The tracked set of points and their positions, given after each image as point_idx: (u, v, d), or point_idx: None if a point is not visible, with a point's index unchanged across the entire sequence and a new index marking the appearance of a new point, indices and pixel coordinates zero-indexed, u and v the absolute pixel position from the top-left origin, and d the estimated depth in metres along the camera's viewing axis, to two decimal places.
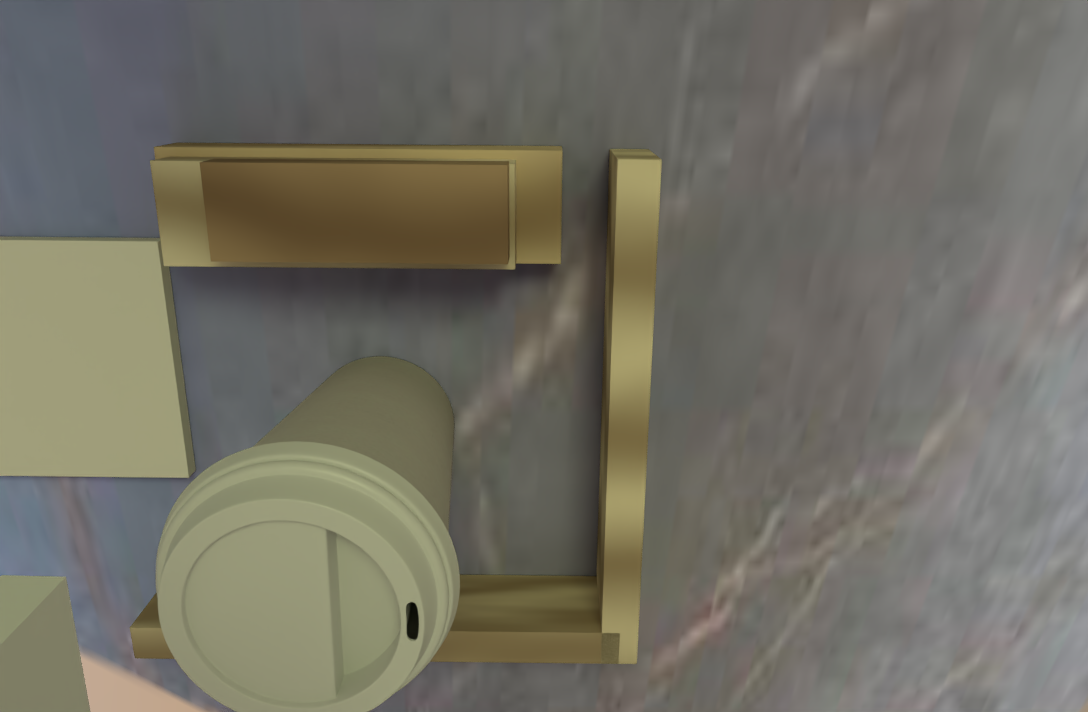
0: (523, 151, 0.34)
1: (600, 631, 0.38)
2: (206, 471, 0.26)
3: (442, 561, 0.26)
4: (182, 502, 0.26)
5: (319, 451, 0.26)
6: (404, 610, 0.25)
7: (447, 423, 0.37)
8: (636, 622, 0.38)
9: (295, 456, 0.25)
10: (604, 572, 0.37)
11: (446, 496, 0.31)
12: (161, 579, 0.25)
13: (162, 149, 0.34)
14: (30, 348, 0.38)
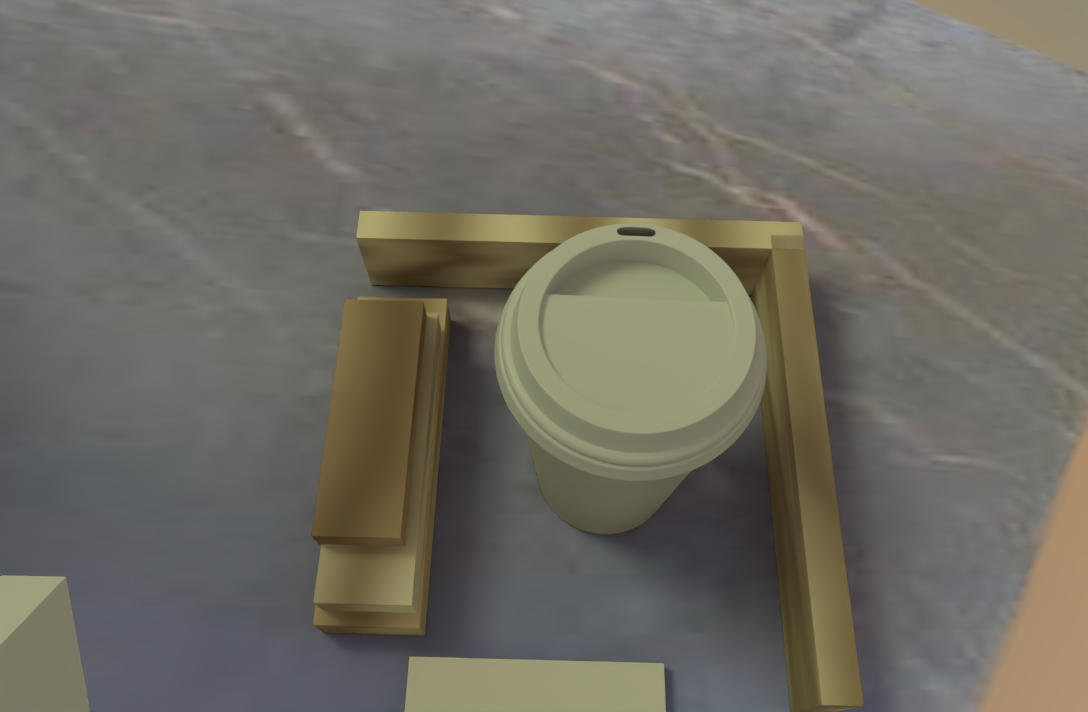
0: None
1: (771, 250, 0.42)
2: (518, 419, 0.29)
3: None
4: (542, 432, 0.28)
5: (499, 323, 0.30)
6: (624, 235, 0.30)
7: None
8: (758, 222, 0.43)
9: (499, 336, 0.30)
10: (710, 246, 0.42)
11: None
12: (598, 425, 0.27)
13: (315, 617, 0.37)
14: None
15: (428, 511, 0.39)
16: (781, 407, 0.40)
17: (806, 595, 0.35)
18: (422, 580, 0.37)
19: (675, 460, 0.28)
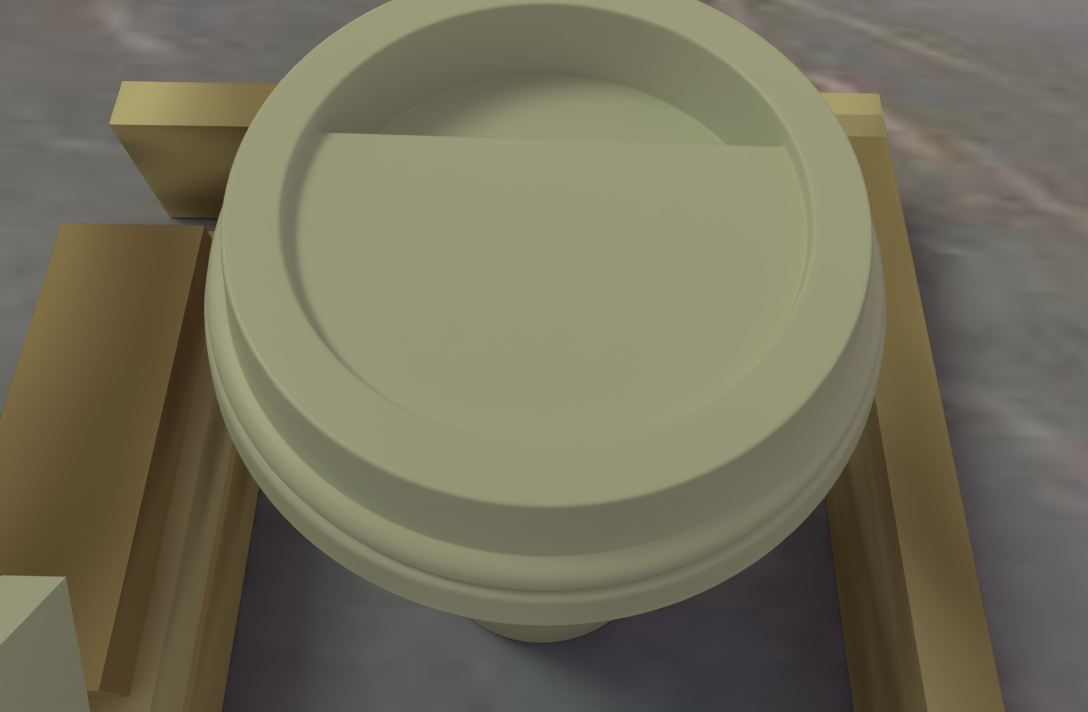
0: None
1: None
2: (244, 459, 0.11)
3: None
4: (289, 496, 0.10)
5: None
6: None
7: None
8: None
9: None
10: None
11: None
12: (420, 482, 0.09)
13: None
14: None
15: (206, 613, 0.21)
16: None
17: None
18: None
19: (654, 574, 0.10)
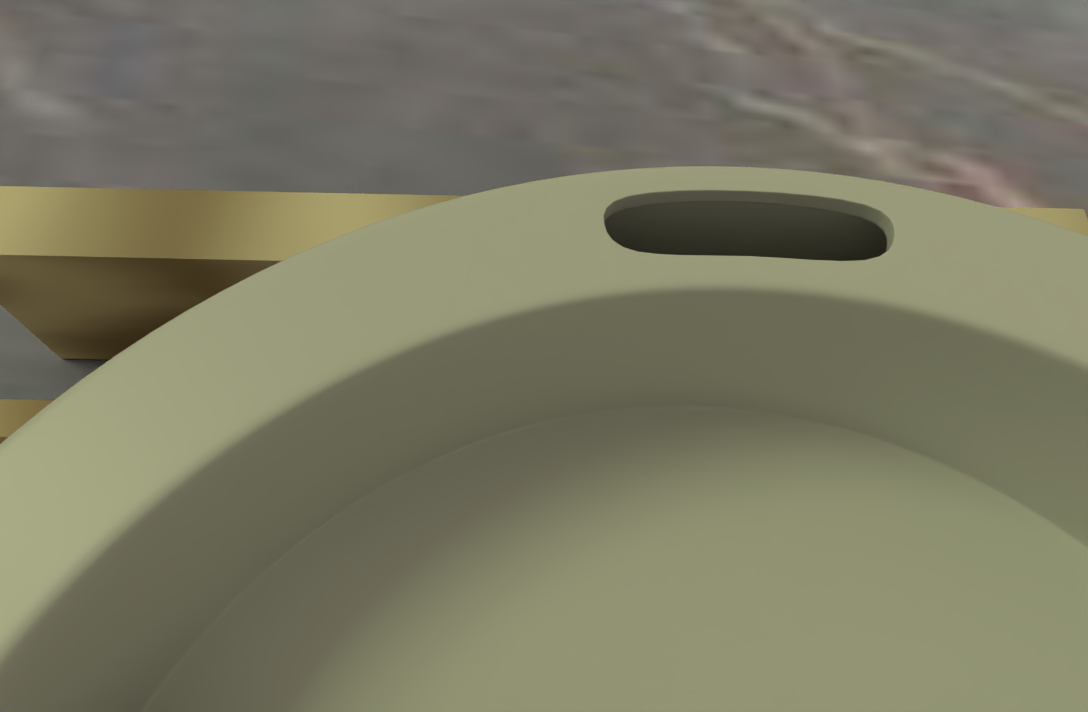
0: None
1: None
2: None
3: None
4: None
5: None
6: (663, 256, 0.04)
7: None
8: None
9: None
10: None
11: None
12: None
13: None
14: None
15: None
16: None
17: None
18: None
19: None
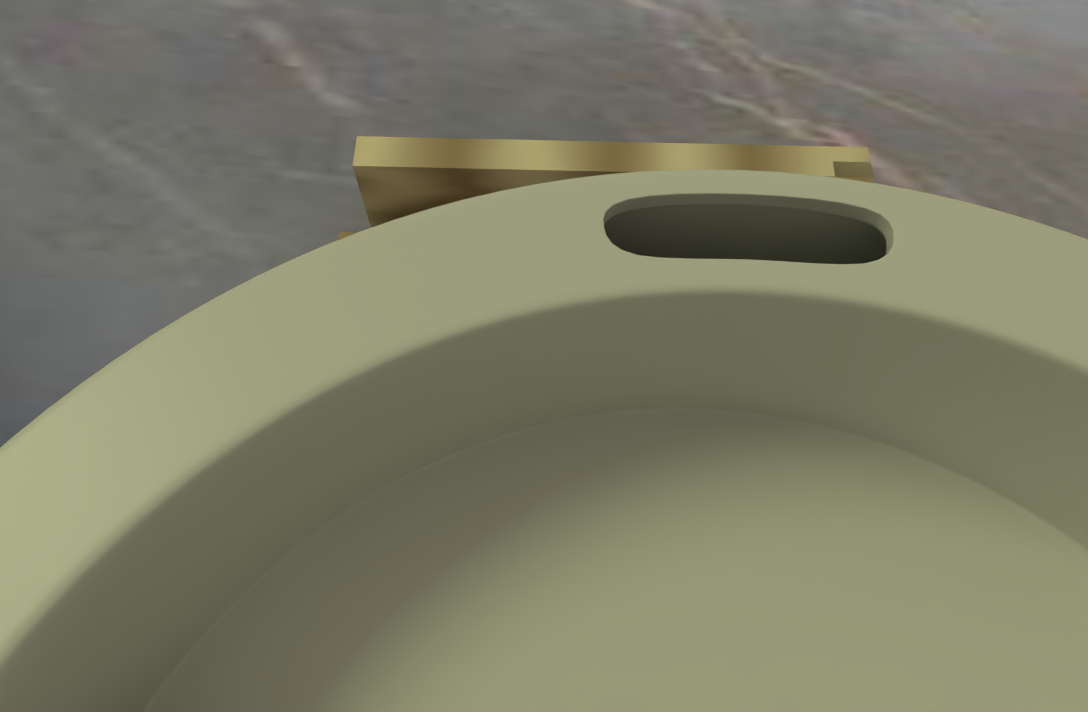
0: None
1: None
2: None
3: None
4: None
5: None
6: (662, 259, 0.04)
7: None
8: (817, 148, 0.37)
9: None
10: None
11: None
12: None
13: None
14: None
15: None
16: None
17: None
18: None
19: None
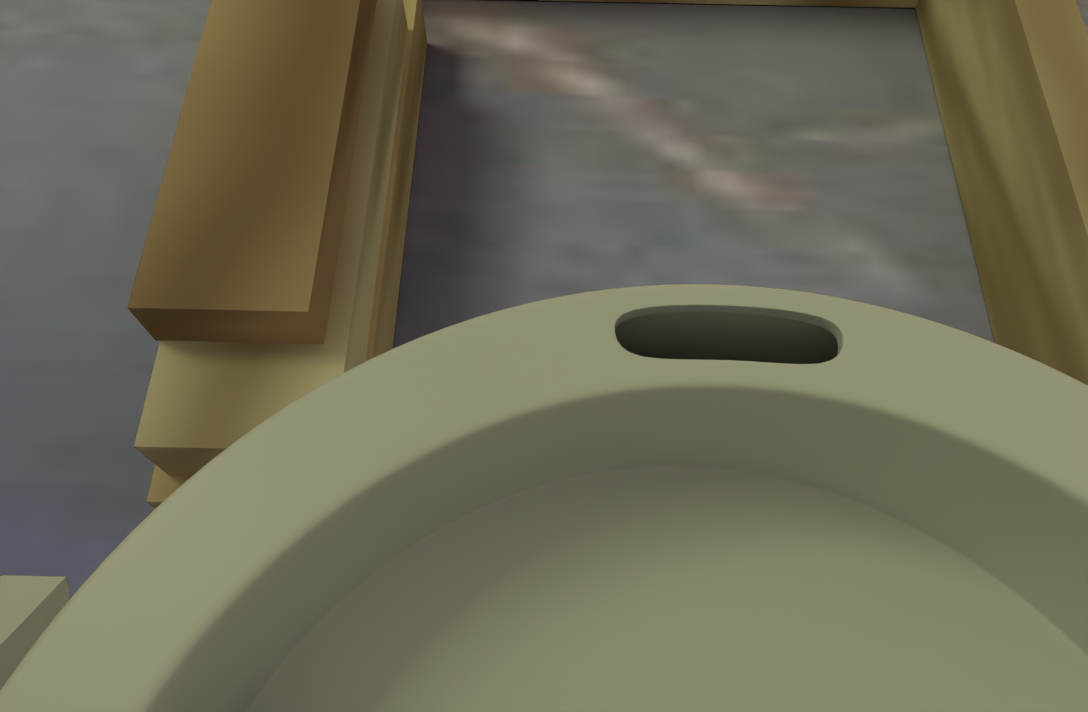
0: None
1: None
2: None
3: None
4: None
5: None
6: (661, 360, 0.05)
7: None
8: None
9: None
10: None
11: None
12: None
13: (153, 487, 0.19)
14: None
15: (378, 304, 0.21)
16: (1018, 125, 0.22)
17: None
18: None
19: None
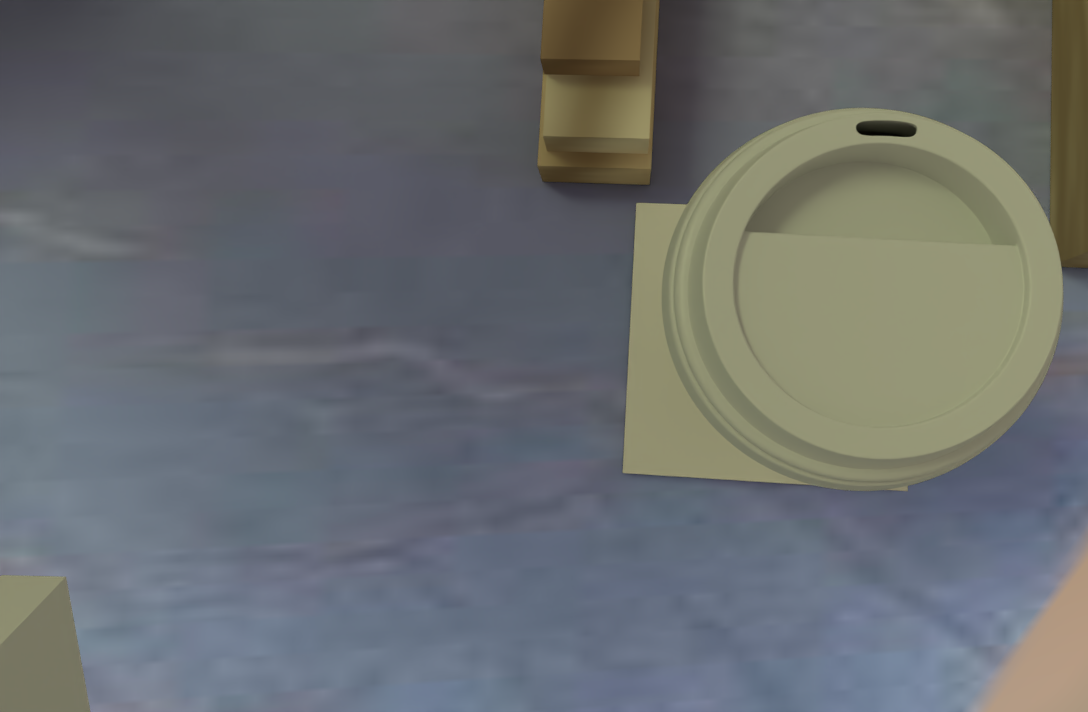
0: None
1: None
2: (695, 401, 0.21)
3: None
4: (729, 428, 0.21)
5: (669, 258, 0.22)
6: (868, 136, 0.20)
7: None
8: None
9: (671, 282, 0.21)
10: None
11: None
12: (816, 444, 0.19)
13: (539, 158, 0.34)
14: None
15: (656, 45, 0.34)
16: None
17: None
18: (652, 120, 0.34)
19: (914, 476, 0.20)
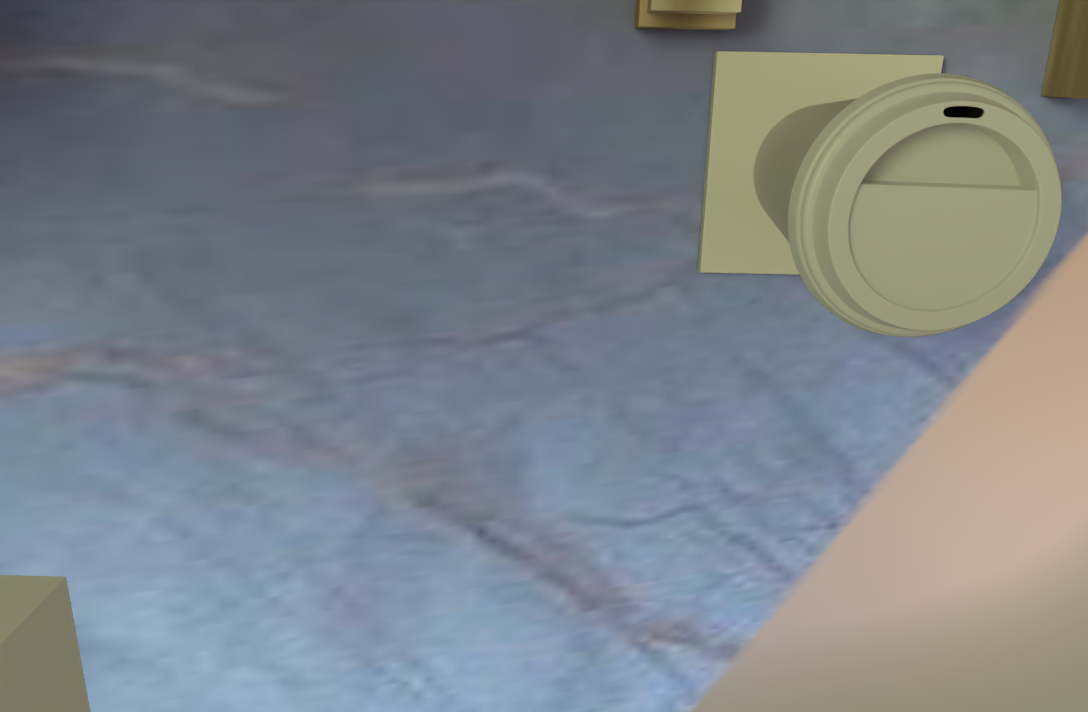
0: None
1: None
2: (807, 285, 0.32)
3: (913, 86, 0.29)
4: (830, 305, 0.32)
5: (797, 189, 0.31)
6: (950, 118, 0.28)
7: (818, 105, 0.40)
8: None
9: (799, 209, 0.31)
10: None
11: None
12: (891, 323, 0.31)
13: (641, 19, 0.40)
14: None
15: None
16: None
17: None
18: None
19: None
